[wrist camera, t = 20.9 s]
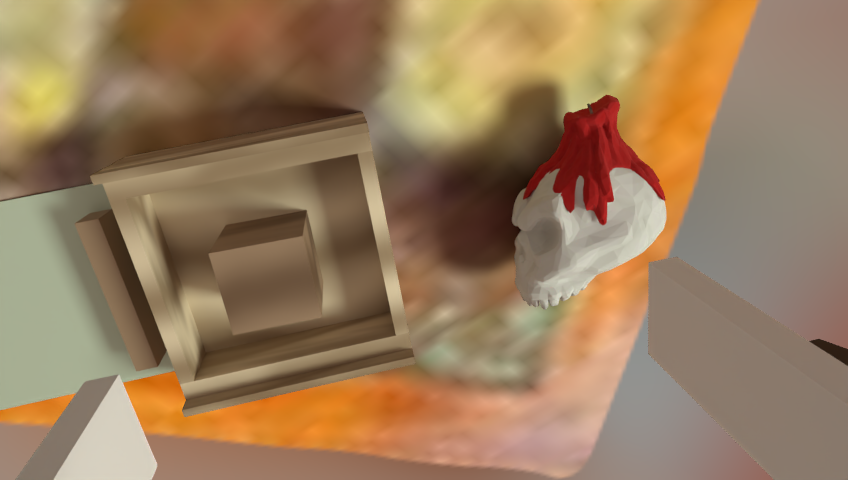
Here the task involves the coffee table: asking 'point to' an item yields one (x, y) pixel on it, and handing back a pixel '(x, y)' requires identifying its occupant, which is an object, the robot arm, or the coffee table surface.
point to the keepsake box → (249, 200)
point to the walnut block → (268, 272)
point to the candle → (584, 208)
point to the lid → (70, 298)
